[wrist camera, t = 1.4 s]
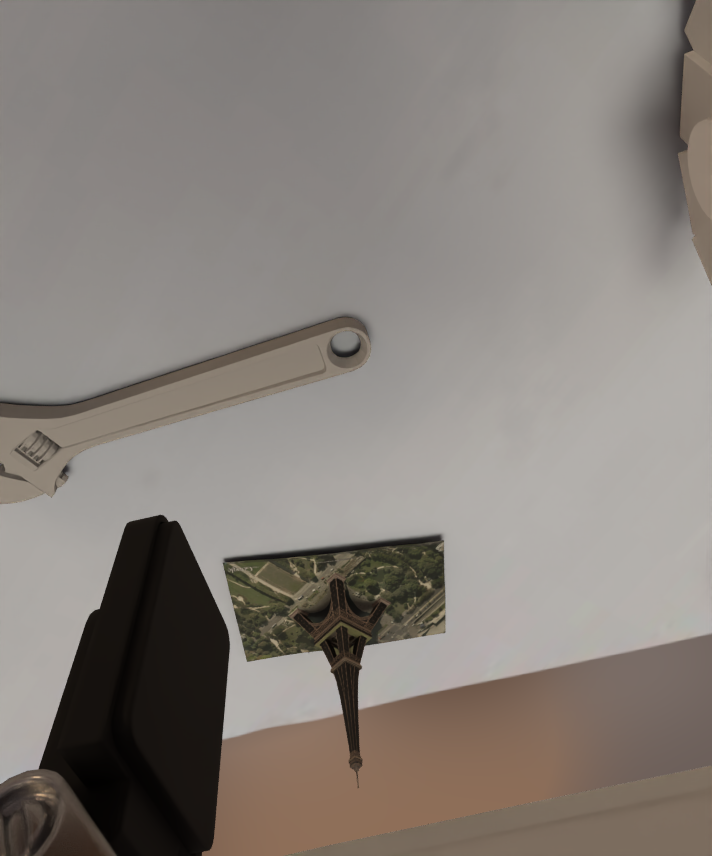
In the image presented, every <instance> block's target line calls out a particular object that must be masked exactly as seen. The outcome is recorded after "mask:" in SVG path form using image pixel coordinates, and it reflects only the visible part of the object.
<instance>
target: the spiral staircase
mask: <svg viewBox="0 0 712 856" xmlns="http://www.w3.org/2000/svg"><path fill="white" fill-rule="evenodd" d="M684 31H685V33H686V35H687V37H688V39H689V42H690V44H691V46H692V48H693V51H690V52H688V53H685V54H684V68H683V85H682V103H681V120H680V138H681V139H682V140H683V141H684V142H685V143H686V144H688V149H687V150H685V151H682V152H680V153H678V157H679V163H680V168H681V173H682V179H683V184H684V189H685V195H686V200H687V205H688V211H689V216H690V221H691V227H692V232H693V234H694V235H695V236H694V237H693V239H692V241H693V243H694V246H695V248H696V250H697V253H698V255H699V257H700V260H701V262H702V264H703V267H704V269H705V271H706V273H707V276H708V278H709V280H710V283H711V285H712V0H696V2H695V4H694V7H693V9H692V12H691V14H690V17H689V20H688V22H687V25H686V27H685V30H684Z"/></svg>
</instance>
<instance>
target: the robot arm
mask: <svg viewBox="0 0 712 856" xmlns="http://www.w3.org/2000/svg"><path fill="white" fill-rule="evenodd" d="M229 650H230V641H229V634H228V630H227V627H226V624H225V622H224V620H223V617H222V615H221V613H220V611H219V609H218V607H217V604H216V602H215V600H214V598H213V596H212V594H211V591H210V589H209V587H208V585H207V583H206V580H205V578H204V576H203V574H202V572H201V570H200V567H199V565H198V563H197V561H196V559H195V557H194V554H193V552H192V550H191V548H190V546H189V544H188V541H187V539H186V537H185V535H184V533H183V530H182V528H181V526H180V525H179V523H178V522H177V521H171V522H168V520H167V519H166V518H165V517H164V516H163V515H158V516H153V517H149V518H144V519H140V520H135V521H131V522H129V523H127V524H126V526H125V529H124V532H123V535H122V539H121V542H120V545H119V548H118V551H117V555H116V558H115V561H114V564H113V568H112V571H111V574H110V577H109V581H108V584H107V587H106V590H105V594H104V597H103V600H102V603H101V606H100V609H98V610H95V611H93V612H92V613H91V614H90V616H89V618H88V620H87V622H86V625H85V628H84V631H83V634H82V637H81V640H80V643H79V646H78V649H77V652H76V655H75V658H74V661H73V665H72V668H71V671H70V674H69V677H68V680H67V683H66V686H65V689H64V692H63V695H62V698H61V702H60V705H59V708H58V711H57V714H56V717H55V720H54V723H53V726H52V729H51V732H50V735H49V738H48V742H47V745H46V748H45V751H44V754H43V757H42V760H41V763H40V766H39V769H38V770H30V771H26V772H23V773H21V774H18V775H16V776H14V777H11V778H9V779H8V780H6V781H5V782H3V783H2V784H0V856H202V852H203V851H208V850H210V849H211V847H212V844H213V839H214V830H215V818H216V806H217V794H218V782H219V770H220V758H221V745H222V734H223V722H224V710H225V698H226V686H227V674H228V662H229ZM286 856H712V766H707V767H702V768H697V769H692V770H687V771H683V772H678V773H673V774H668V775H663V776H658V777H653V778H649V779H644V780H639V781H634V782H629V783H624V784H619V785H614V786H610V787H605V788H600V789H595V790H590V791H585V792H581V793H576V794H571V795H567V796H562V797H557V798H552V799H547V800H542V801H537V802H532V803H528V804H523V805H518V806H514V807H508V808H504V809H499V810H494V811H490V812H485V813H480V814H476V815H471V816H466V817H461V818H456V819H452V820H447V821H443V822H437V823H433V824H428V825H423V826H419V827H414V828H409V829H404V830H400V831H395V832H390V833H386V834H381V835H376V836H371V837H367V838H362V839H357V840H353V841H348V842H343V843H338V844H334V845H329V846H325V847H320V848H316V849H312V850H307V851H303V852H299V853H294V854H290V855H286Z"/></svg>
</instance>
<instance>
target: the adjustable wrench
mask: <svg viewBox="0 0 712 856" xmlns="http://www.w3.org/2000/svg"><path fill="white" fill-rule="evenodd" d="M342 331H352V332H354V333H356V334H357V335H358V336H359V338H360V341H361V347H360V350H359V351H358V352H357V353H356V354H354V355H352V356H350V357H338V356H336V355H335V354H334V353H333V351H332V350H331V340H332V338H333V336H334V335H336V334H337V333H339V332H342ZM370 353H371V344H370V340H369V336H368V333H367V331H366V329H365V327H364V325H362V324H361V323H360V322H359V321H358V320H355V319H353V318H348V317H342V318H337V319H334V320H331V321H328V322H325V323H322V324H319V325H316V326H313V327H310V328H307V329H303V330H300V331H297V332H294V333H291V334H288V335H285V336H282V337H279V338H276V339H273V340H270V341H267V342H264V343H261V344H258V345H255V346H252V347H249V348H246V349H243V350H240V351H237V352H234V353H230V354H227V355H224V356H221V357H218V358H215V359H212V360H209V361H206V362H203V363H200V364H197V365H194V366H191V367H188V368H185V369H182V370H179V371H176V372H173V373H170V374H167V375H164V376H160V377H157V378H154V379H151V380H148V381H145V382H142V383H139V384H136V385H133V386H130V387H127V388H124V389H121V390H118V391H115V392H112V393H109V394H106V395H103V396H100V397H97V398H94V399H90V400H87V401H84V402H81V403H77V404H72V405H66V406H26V405H13V404H5V403H0V462H1V463H2V465H1V466H0V504H8V503H17V502H22V501H25V500H29V499H32V498H35V497H37V496H40V495H42V494H44V493H46V494H47V495H49V496H50V497H51V498H52V497H53V495H54V494H55V492H56V490H57V487H58V488H59V487H61V486H62V485H63V484H64V483H65V482H66V481H67V479H68V476H67V475H66V474H64V473H63V472H62V470H63V468H64V467H65V465H66V464H67V462H69V461H70V460H71V459H72V458H73V457H74V456H75V455H77V454H79V453H80V452H82V451H84V450H86V449H89V448H91V447H93V446H96V445H100V444H103V443H107V442H110V441H113V440H117V439H120V438H124V437H127V436H131V435H134V434H137V433H141V432H144V431H148V430H151V429H155V428H158V427H162V426H165V425H168V424H172V423H175V422H179V421H182V420H186V419H189V418H192V417H196V416H199V415H203V414H206V413H210V412H213V411H217V410H220V409H223V408H227V407H230V406H234V405H237V404H241V403H244V402H248V401H251V400H254V399H258V398H261V397H265V396H268V395H272V394H275V393H278V392H282V391H285V390H289V389H292V388H296V387H299V386H303V385H306V384H309V383H313V382H316V381H320V380H323V379H327V378H330V377H333V376H337V375H340V374H344V373H347V372H351V371H354V370H356V369H358V368H360V367H362V366H363V365H364V364H365V363H366V362H367V360H368V358H369V357H370Z"/></svg>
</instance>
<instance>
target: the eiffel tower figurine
mask: <svg viewBox="0 0 712 856" xmlns="http://www.w3.org/2000/svg"><path fill="white" fill-rule="evenodd" d="M223 566H224V570H225V574H226V578H227V582H228V586H229V590H230V595H231V599H232V603H233V607H234V611H235V615H236V619H237V623H238V627H239V631H240V635H241V639H242V643H243V647H244V651H245V655H246V659H247V662H249V661H255V660H260V659H266V658H272V657H278V656H284V655H290V654H297V653H304V652H313V651H322V650H323V651H324V653H325V655H326V657H327V659H328V661H329V663H330V665H331V667H332V669H331V673H333V674H334V676H335V679H336V682H337V686H338V690H339V695H340V699H341V704H342V710H343V715H344V721H345V726H346V732H347V738H348V744H349V751H350V760H349V763H350V768H352V769H354V771H355V772H356V774H357V772H358V771H359V768H360V767H361V766H362V758H361V757H360V750H359V725H358V676H359V670H360V669H362V666H361V665H360V662H361V658H362V654H363V650H364V646H365V645H372V644H379V643H385V642H391V641H397V640H403V639H409V638H415V637H421V636H427V635H433V634H440V633H445V582H444V540H443V541H436V542H428V543H420V544H408V545H396V546H386V547H377V548H370V549H363V550H355V551H347V552H339V553H330V554H321V555H311V556H301V557H291V558H280V559H268V560H249V561H237V562H226V563H223ZM357 783H358V775H357ZM358 788H359V785H358Z"/></svg>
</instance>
